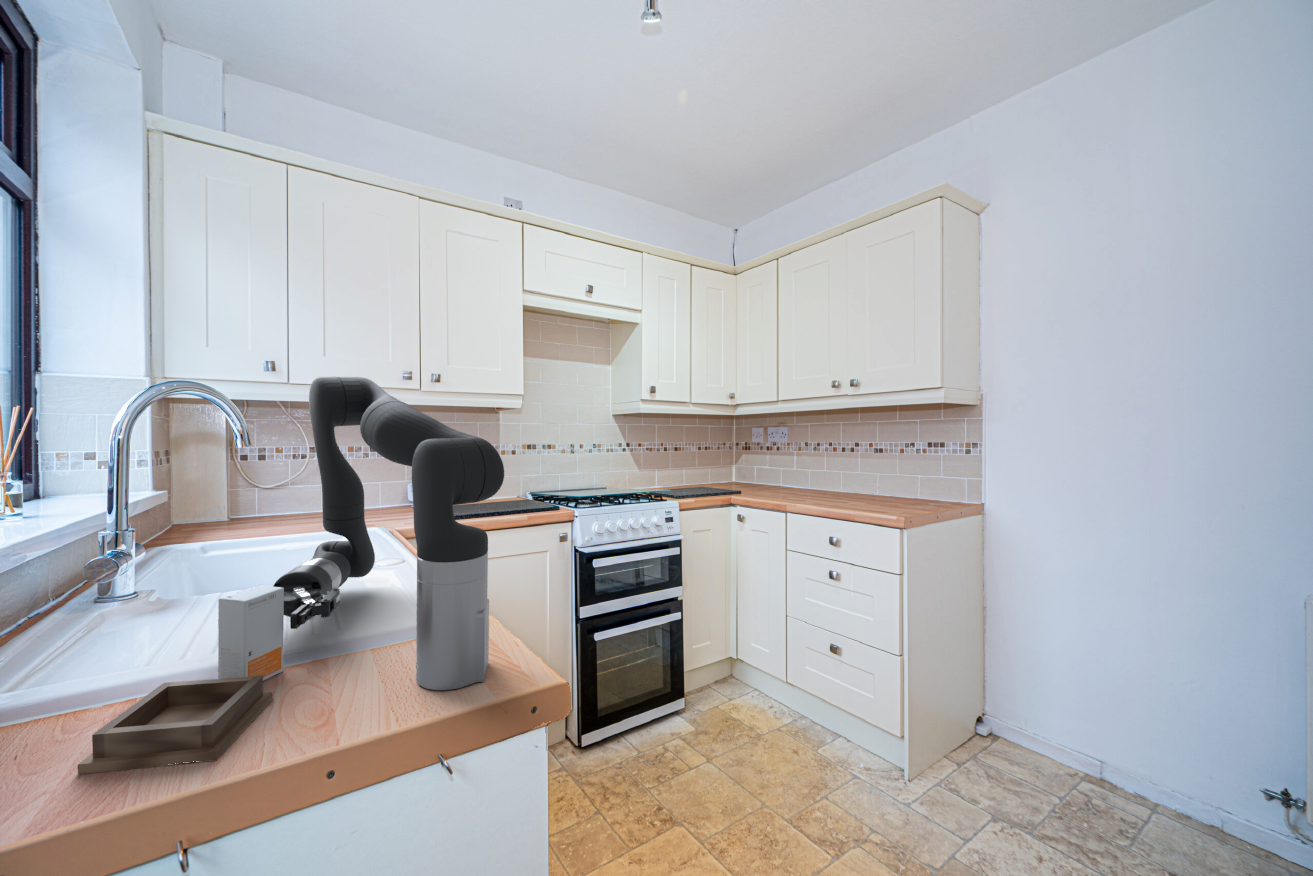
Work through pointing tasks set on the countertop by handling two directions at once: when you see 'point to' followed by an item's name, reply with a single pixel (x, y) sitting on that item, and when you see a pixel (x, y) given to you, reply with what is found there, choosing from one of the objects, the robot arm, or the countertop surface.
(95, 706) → the countertop surface
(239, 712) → the tray
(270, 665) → the skincare box
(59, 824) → the countertop surface
